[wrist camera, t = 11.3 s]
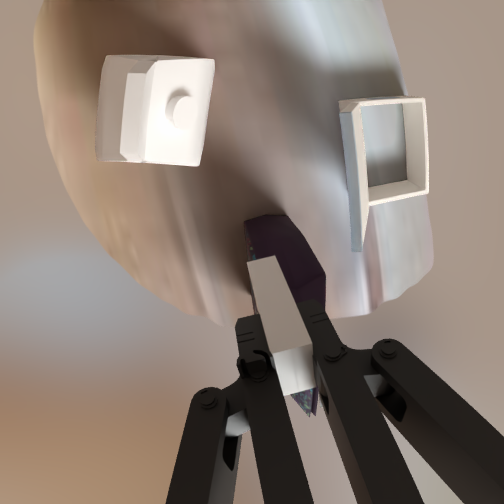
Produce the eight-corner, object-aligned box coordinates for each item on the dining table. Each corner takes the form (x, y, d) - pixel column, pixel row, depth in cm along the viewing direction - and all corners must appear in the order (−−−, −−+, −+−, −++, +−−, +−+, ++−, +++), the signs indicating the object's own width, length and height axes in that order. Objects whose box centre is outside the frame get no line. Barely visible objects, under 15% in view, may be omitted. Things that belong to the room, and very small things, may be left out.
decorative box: (249, 298, 60) (280, 426, 35) (240, 217, 52) (276, 334, 28) (291, 292, 61) (342, 412, 36) (289, 211, 53) (361, 317, 28)
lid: (361, 251, 37) (350, 251, 38) (369, 208, 47) (360, 208, 47) (351, 112, 29) (338, 113, 30) (359, 102, 39) (350, 102, 40)
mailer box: (410, 182, 53) (428, 193, 48) (349, 195, 53) (364, 207, 48) (404, 95, 45) (424, 97, 40) (338, 99, 45) (354, 101, 40)
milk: (137, 64, 38) (68, 36, 16) (214, 69, 41) (226, 37, 18) (129, 141, 44) (58, 191, 21) (203, 146, 46) (203, 200, 23)
